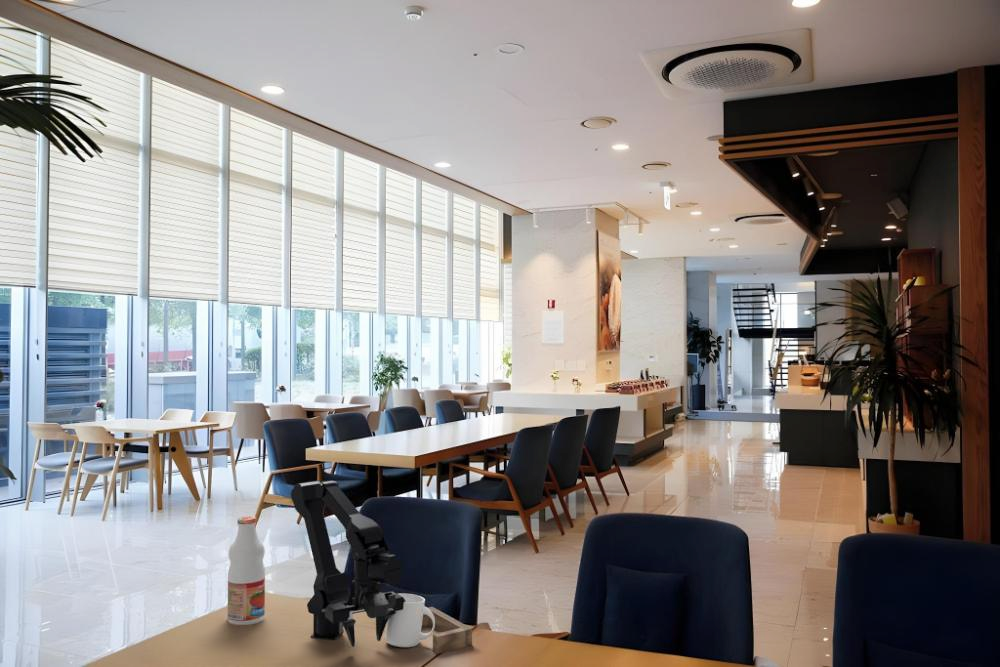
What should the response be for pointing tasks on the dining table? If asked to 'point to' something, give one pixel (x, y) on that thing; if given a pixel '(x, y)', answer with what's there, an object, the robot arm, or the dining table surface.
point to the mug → (408, 623)
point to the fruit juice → (246, 576)
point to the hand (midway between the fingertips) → (365, 643)
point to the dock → (447, 632)
